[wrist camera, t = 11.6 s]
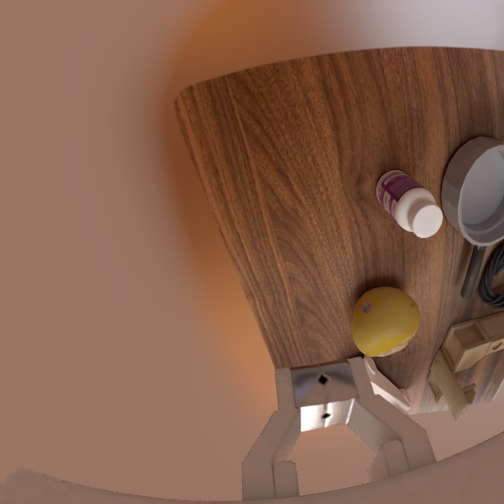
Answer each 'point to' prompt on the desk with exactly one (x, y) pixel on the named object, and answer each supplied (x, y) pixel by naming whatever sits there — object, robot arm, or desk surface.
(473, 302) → the desk surface
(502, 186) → the pan
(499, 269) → the cable
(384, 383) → the toy truck
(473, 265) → the pan handle
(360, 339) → the fruit
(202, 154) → the desk surface
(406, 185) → the pill bottle
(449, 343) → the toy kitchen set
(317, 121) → the desk surface
